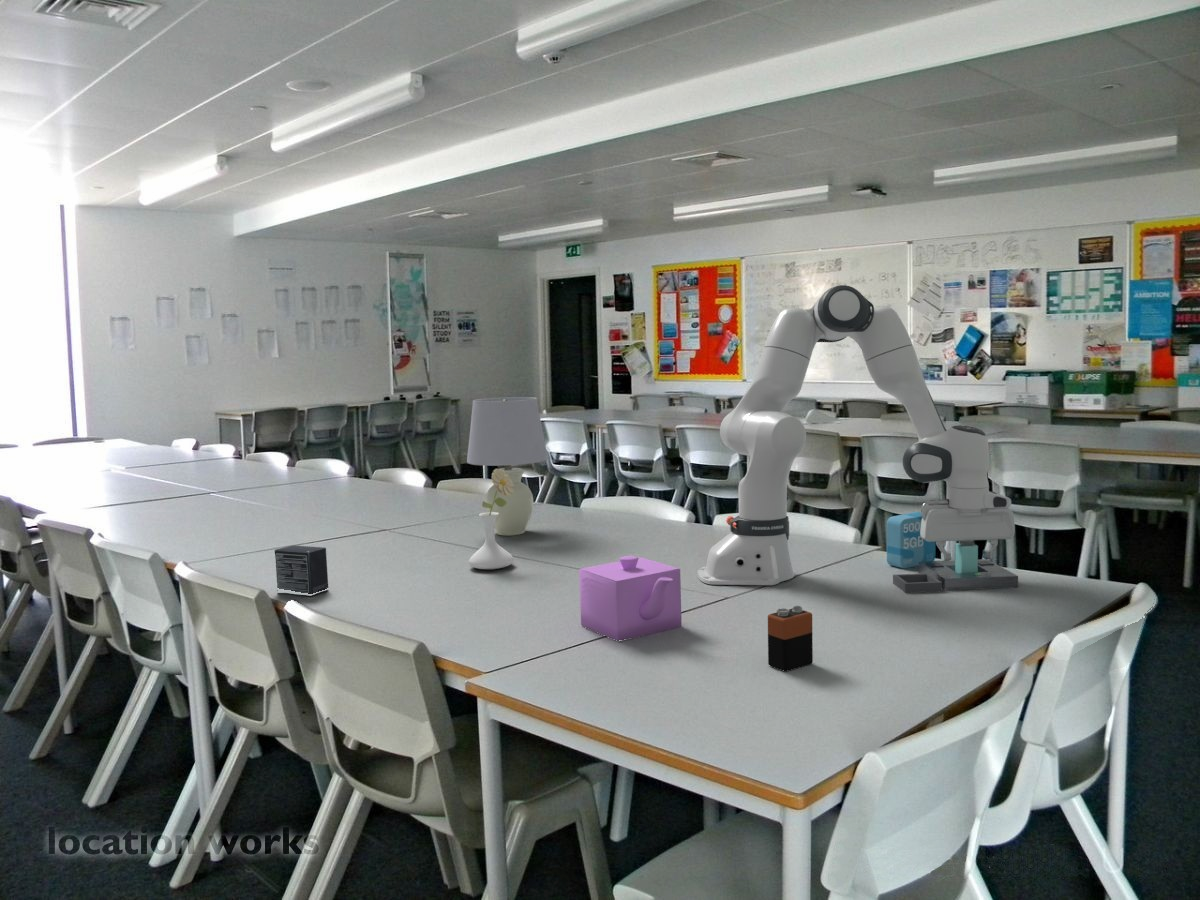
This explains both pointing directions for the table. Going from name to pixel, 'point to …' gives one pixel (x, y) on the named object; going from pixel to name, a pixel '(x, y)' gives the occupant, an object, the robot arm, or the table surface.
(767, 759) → the table surface
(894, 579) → the tray
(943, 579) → the panel
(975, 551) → the aqua plug
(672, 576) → the teapot
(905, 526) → the data package
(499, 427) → the lamp
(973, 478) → the robot arm
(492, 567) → the flower in vase
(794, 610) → the battery
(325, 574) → the small box
